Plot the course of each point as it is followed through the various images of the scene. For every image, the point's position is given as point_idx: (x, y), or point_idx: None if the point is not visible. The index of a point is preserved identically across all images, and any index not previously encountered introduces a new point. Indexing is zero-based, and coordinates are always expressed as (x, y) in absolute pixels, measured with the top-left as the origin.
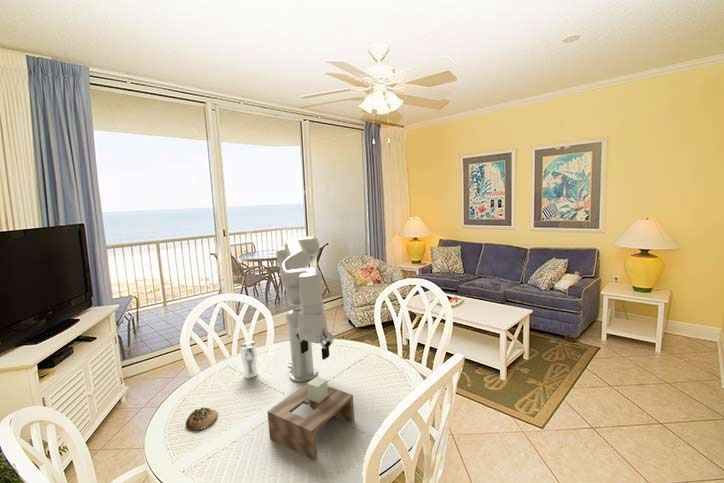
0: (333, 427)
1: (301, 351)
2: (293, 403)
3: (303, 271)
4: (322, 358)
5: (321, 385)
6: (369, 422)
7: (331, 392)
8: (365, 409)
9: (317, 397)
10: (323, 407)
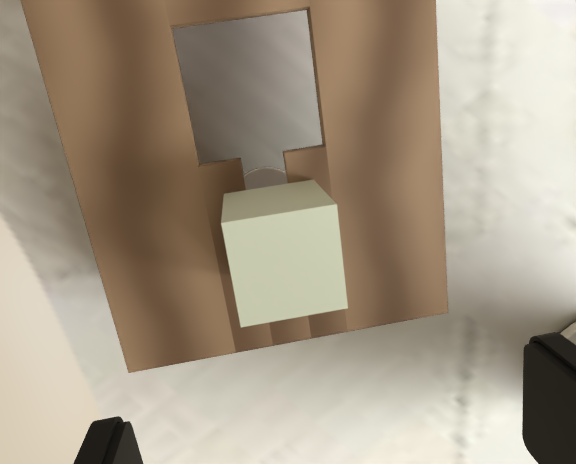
0: None
1: (567, 347)
2: (353, 87)
3: None
4: (108, 424)
5: (229, 262)
6: (94, 332)
7: None
8: (175, 378)
9: (231, 200)
10: (163, 182)
